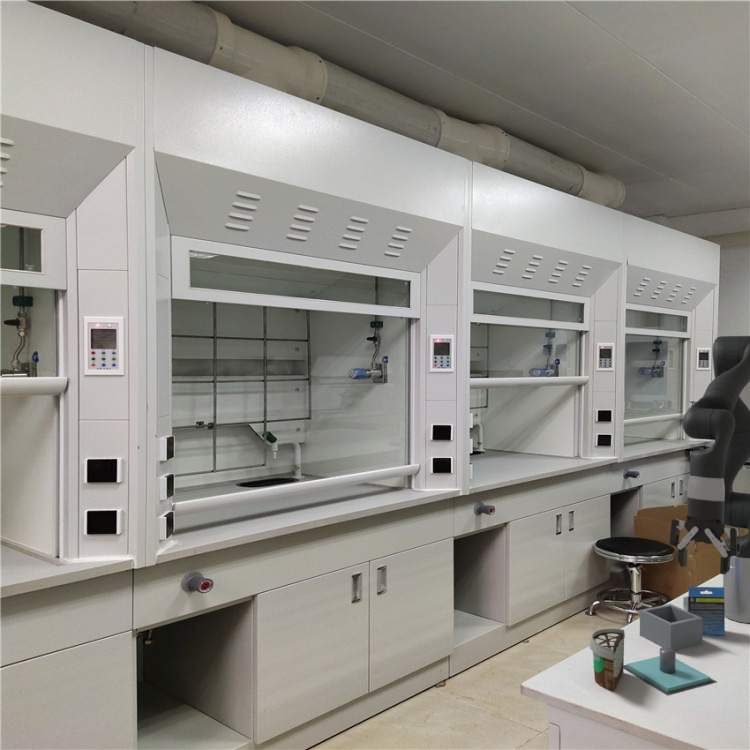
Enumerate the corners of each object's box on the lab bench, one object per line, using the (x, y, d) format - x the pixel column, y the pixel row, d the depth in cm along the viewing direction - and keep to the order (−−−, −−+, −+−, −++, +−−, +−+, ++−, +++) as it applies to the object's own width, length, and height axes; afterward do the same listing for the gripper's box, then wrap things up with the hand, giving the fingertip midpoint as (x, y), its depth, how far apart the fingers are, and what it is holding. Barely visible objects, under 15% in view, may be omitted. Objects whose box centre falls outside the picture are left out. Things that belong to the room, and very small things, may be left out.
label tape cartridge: (718, 629, 176) (719, 582, 176) (725, 635, 172) (725, 587, 172) (682, 628, 177) (683, 581, 177) (688, 635, 173) (688, 586, 173)
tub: (670, 630, 176) (670, 603, 176) (702, 646, 167) (702, 618, 166) (639, 637, 172) (639, 610, 172) (670, 654, 163) (670, 625, 163)
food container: (596, 666, 157) (596, 623, 157) (624, 672, 154) (624, 628, 154) (582, 690, 147) (582, 644, 146) (612, 697, 144) (612, 650, 143)
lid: (667, 657, 160) (667, 635, 160) (710, 680, 149) (710, 656, 149) (626, 667, 155) (626, 644, 155) (667, 692, 144) (667, 667, 144)
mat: (667, 657, 161) (667, 654, 161) (717, 684, 148) (717, 681, 148) (620, 668, 156) (620, 666, 156) (667, 698, 143) (667, 695, 143)
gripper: (745, 500, 153) (742, 574, 152) (679, 492, 163) (676, 562, 162) (734, 502, 147) (731, 579, 146) (667, 493, 157) (664, 565, 156)
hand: (702, 570), depth 154 cm, fingers open, 8 cm apart
